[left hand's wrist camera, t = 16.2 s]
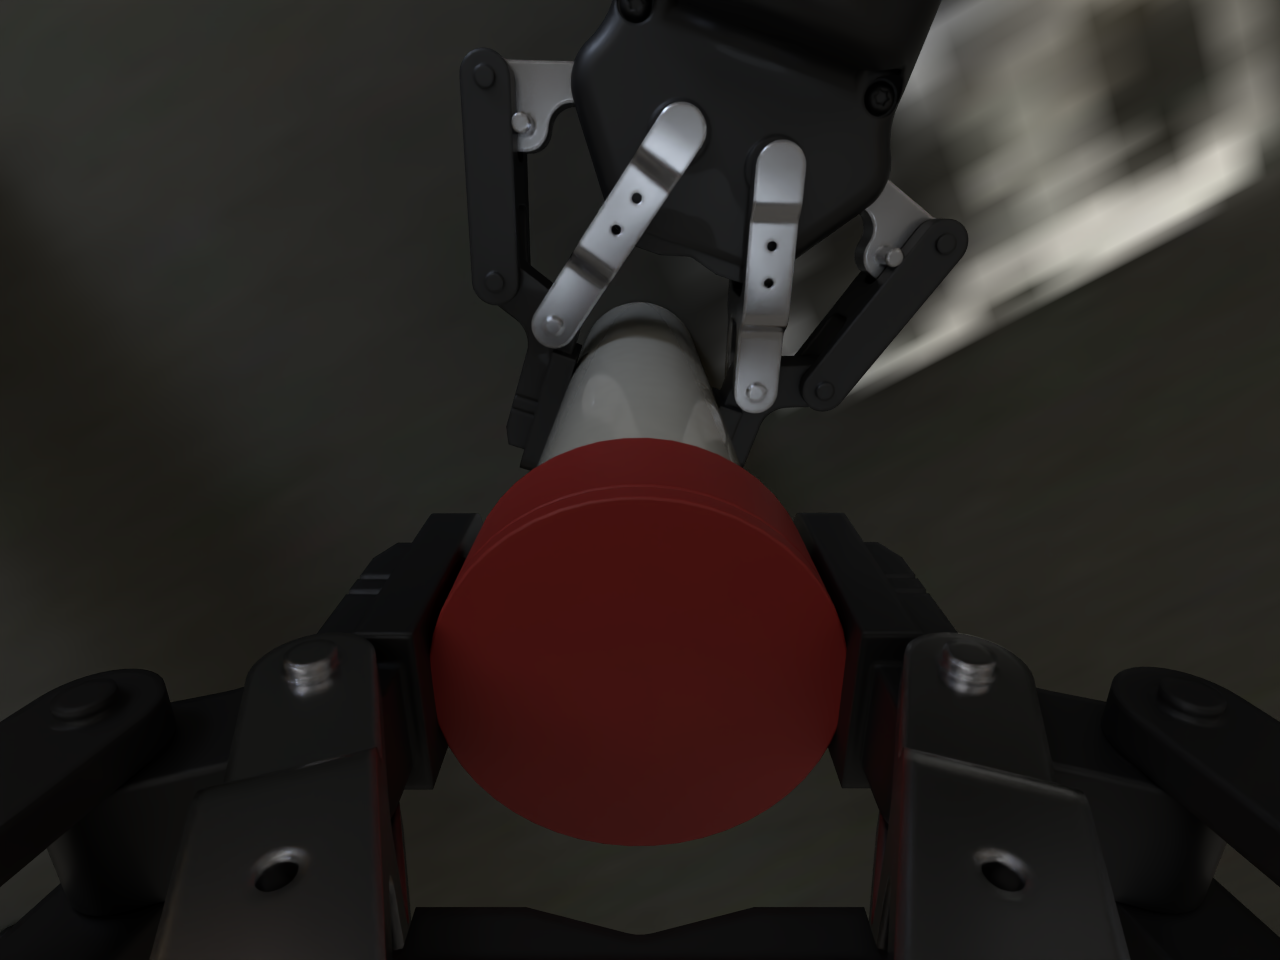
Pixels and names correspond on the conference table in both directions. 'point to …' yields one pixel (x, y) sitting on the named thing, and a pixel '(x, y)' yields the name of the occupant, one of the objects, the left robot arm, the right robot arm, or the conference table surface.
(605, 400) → the white tall cylinder
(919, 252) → the right robot arm
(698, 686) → the lid
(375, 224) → the conference table surface
